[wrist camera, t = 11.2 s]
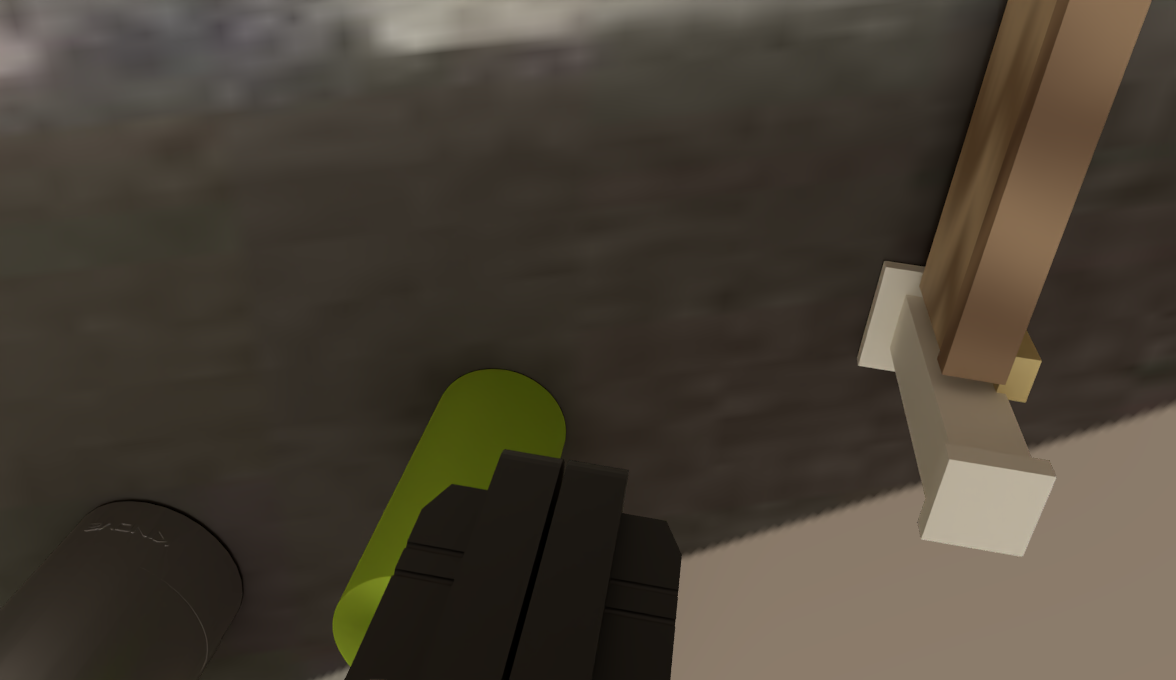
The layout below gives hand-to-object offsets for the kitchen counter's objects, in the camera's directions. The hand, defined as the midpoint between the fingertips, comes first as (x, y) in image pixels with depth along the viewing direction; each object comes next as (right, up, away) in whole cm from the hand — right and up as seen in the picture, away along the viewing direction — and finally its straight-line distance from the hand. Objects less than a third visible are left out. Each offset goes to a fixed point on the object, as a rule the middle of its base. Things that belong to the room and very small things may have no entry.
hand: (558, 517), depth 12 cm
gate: (+14, +11, +22) cm, 28 cm away
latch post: (+14, +3, +27) cm, 31 cm away
